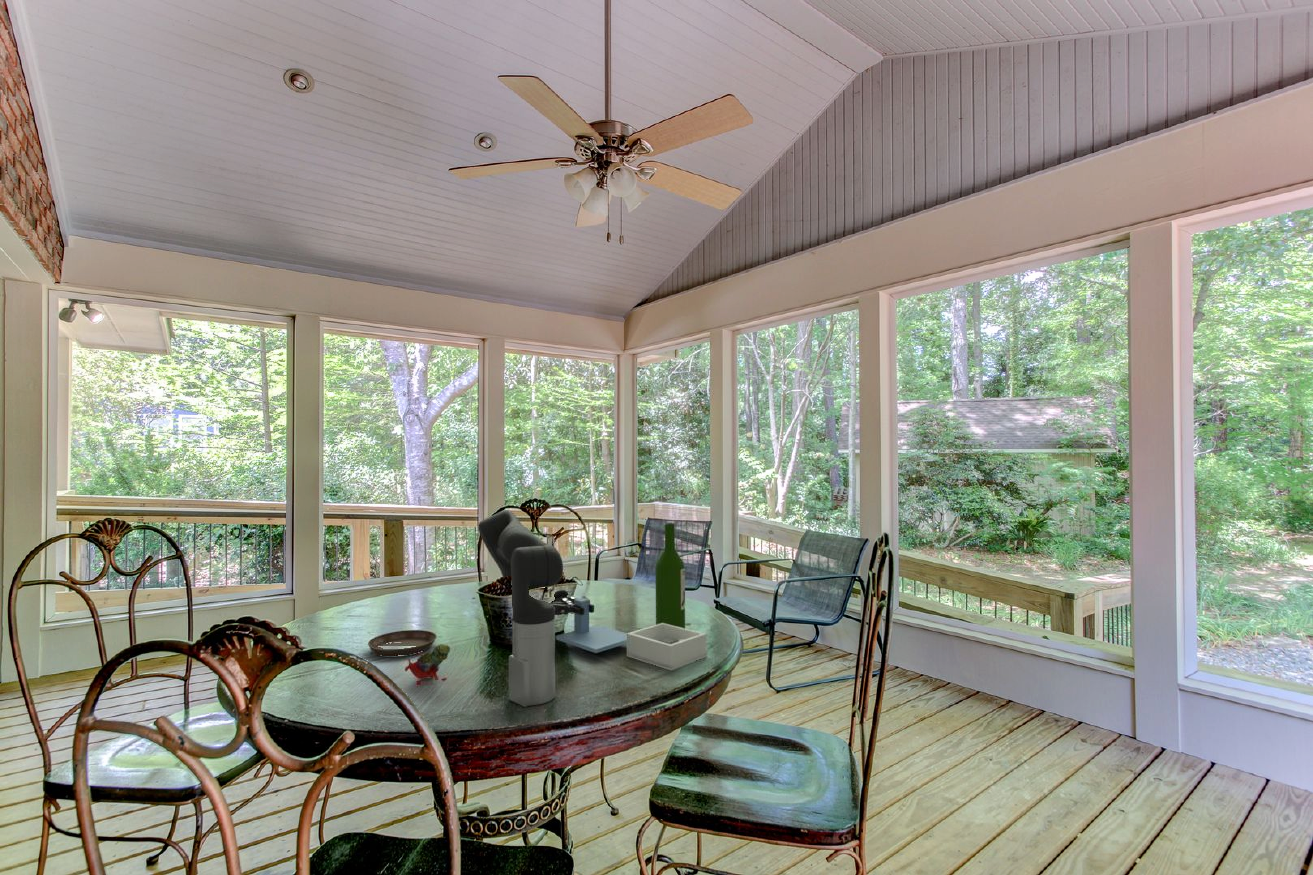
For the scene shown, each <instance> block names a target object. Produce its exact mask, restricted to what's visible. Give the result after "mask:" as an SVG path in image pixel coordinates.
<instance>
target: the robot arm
mask: <svg viewBox="0 0 1313 875" xmlns="http://www.w3.org/2000/svg"><path fill="white" fill-rule="evenodd" d="M478 531H479V532H478V533H479V536H480V537H481V540H482V542H483V543H484V546H485V548H486V549H487V551H488V553H489V554H490V556H491V558H492V559H493V561H494V562H495V564H496V565H497V567H498V568H499V571H500V573H501V576H502V578H503V577H505V574H506V576H511V578H512V607H511V608H512V654H511V655H509V656H508V700H509V701H511V702H513V703H515V704H517V705H520V706H522V707H524V708H526V707H529V706H537V705H542V704H546V703H548V702H551V701H552V700H553V699H555V697H556V664H555V663H556V633H555V632H556V624H555V623H556V621H555V620H556V616H563V615H565V616H568V615H569V614H570V615H571V614H572V615H574V613H575V614H579V615H584V614H585V608H584V607H582V606H578V605H575V604H574V600H576V599H580V598H578V597H574V596H571V595H570V596H569V597H567V595H568V593H569V592H568V591H567V590H566V589H563V588H559V589H560V590H557V591H556V592H555V594H554V597H555V600H554V601H552V602H551V603H548V602H545V601H541V600H537V599H535V598H533V597H531V596H530V595H529V589H535V588H545V587H554V586H555V585H557V584H558V583H560V581H561V579H562V577H563V573H564V564H563V563H564V562H563V559H562V557H561V553H559V552H560V551H558V549H557V548H556V547H555V546H554V545H551V544H549V543H547V542H545V541H543V540H542V539H540V538H539V537H538V536H536V535H535V533H533V532H532V531H531V530H530V529H529V528H527V527H525V525H523V524H522V523H521V521H520V520H519V518H518V517H517V516H516V514H515V513H514V512H513V511H511V510H509V509H505V510H501V511H499V512H497V513H495V514H492V515H491V516H489V517H486V518H484V519H483V520H481V521H480V522H479V523H478ZM581 598H584V599H588V600H589V614H590V613H591V614H592V613H594V612H595V605H594V604H592V603H591V600H590V599H589V598H588V597H587V596H585V595H584V596H581Z"/></svg>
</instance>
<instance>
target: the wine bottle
mask: <svg viewBox="0 0 1313 875" xmlns="http://www.w3.org/2000/svg"><path fill="white" fill-rule="evenodd" d="M675 525H676V524H674V523H665V524H664V550H663V551H662V553H661V555H660V557H659V558H658V559H657V561H656V564H655V625H657V624H660V623H665V624H669V625H673V626H677V627H681V628H685V629H686V577H685V576H686V573H685V572H686V570H685V568H686V567H685V562H684V561H683V559H682V558H681V556H680V554H679V553H678V552H677V550H676V537H675V536H676V534H675V533H676V532H675V528H676V527H675Z"/></svg>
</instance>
